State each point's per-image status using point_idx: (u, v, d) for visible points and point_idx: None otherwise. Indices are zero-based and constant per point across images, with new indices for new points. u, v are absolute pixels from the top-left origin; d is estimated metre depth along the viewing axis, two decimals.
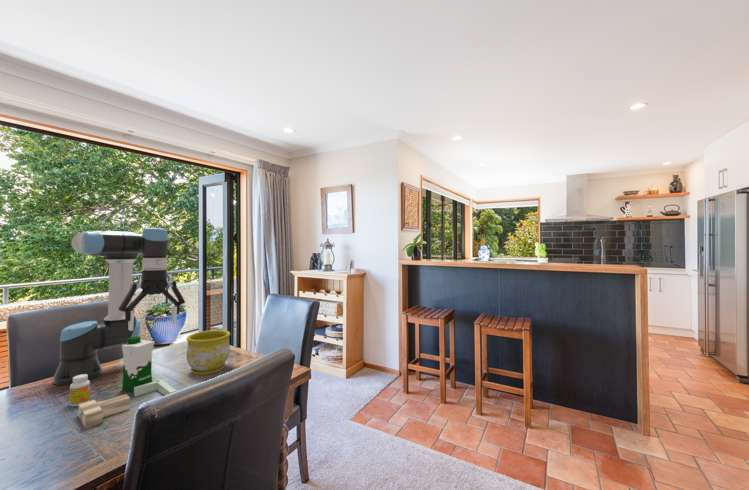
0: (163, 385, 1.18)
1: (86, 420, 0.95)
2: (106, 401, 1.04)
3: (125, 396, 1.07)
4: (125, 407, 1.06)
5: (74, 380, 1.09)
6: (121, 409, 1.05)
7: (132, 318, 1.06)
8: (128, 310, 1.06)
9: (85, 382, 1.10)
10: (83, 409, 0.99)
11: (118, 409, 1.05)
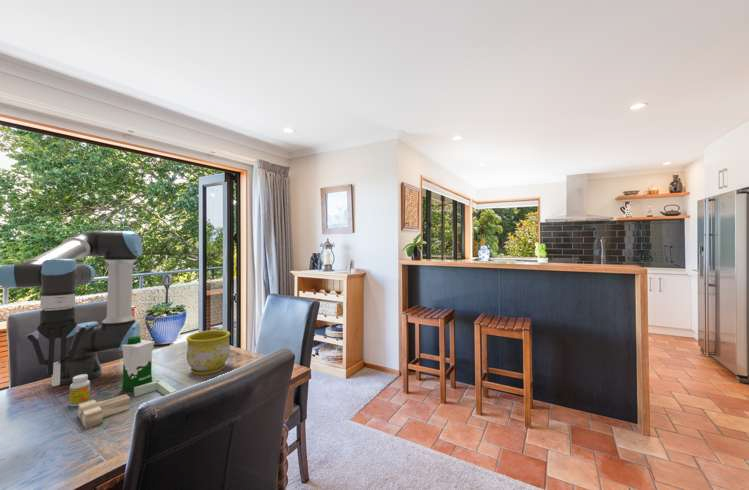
0: (163, 385, 1.18)
1: (86, 420, 0.95)
2: (106, 401, 1.04)
3: (125, 396, 1.07)
4: (125, 407, 1.06)
5: (74, 380, 1.09)
6: (121, 409, 1.05)
7: (55, 371, 0.93)
8: (50, 363, 0.92)
9: (85, 382, 1.10)
10: (83, 409, 0.99)
11: (118, 409, 1.05)
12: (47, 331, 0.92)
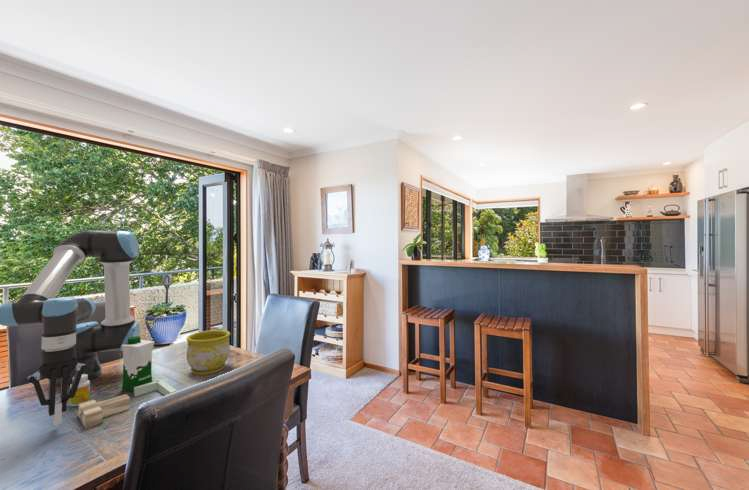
0: (163, 385, 1.18)
1: (86, 420, 0.95)
2: (106, 401, 1.04)
3: (125, 396, 1.07)
4: (125, 407, 1.06)
5: None
6: (121, 409, 1.05)
7: (56, 411, 0.93)
8: (51, 403, 0.92)
9: (85, 382, 1.10)
10: (83, 409, 0.99)
11: (118, 409, 1.05)
12: (48, 372, 0.92)
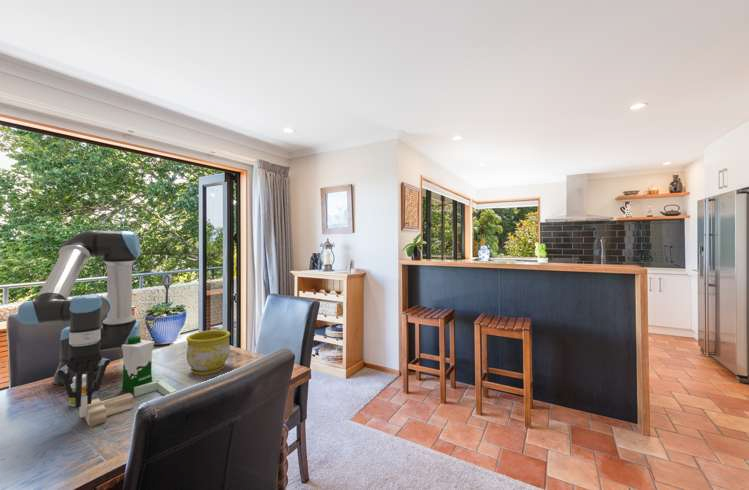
0: (163, 385, 1.18)
1: (90, 418, 0.96)
2: (110, 400, 1.05)
3: (129, 395, 1.08)
4: (129, 406, 1.07)
5: (74, 380, 1.09)
6: (125, 408, 1.06)
7: (82, 403, 0.98)
8: (78, 396, 0.97)
9: (85, 382, 1.10)
10: (87, 408, 1.00)
11: (122, 408, 1.05)
12: (75, 366, 0.97)
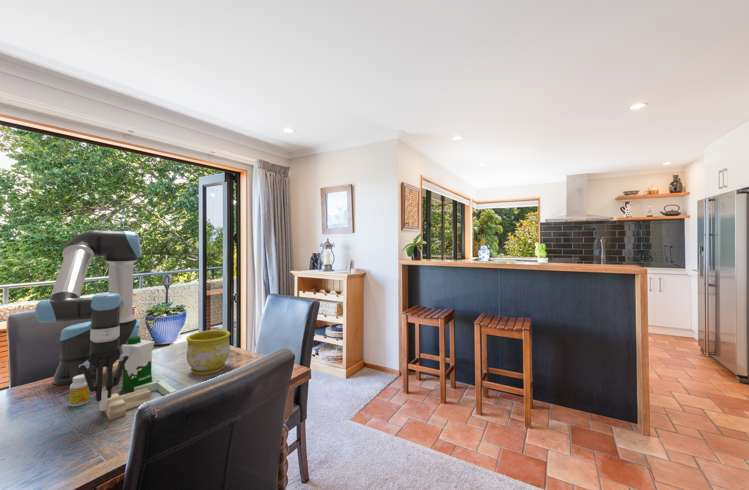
0: (163, 385, 1.18)
1: (111, 412, 1.00)
2: (128, 394, 1.09)
3: (146, 390, 1.12)
4: (146, 400, 1.11)
5: (74, 380, 1.09)
6: (142, 402, 1.10)
7: (103, 397, 1.02)
8: (99, 390, 1.01)
9: (85, 382, 1.10)
10: (107, 402, 1.03)
11: (139, 402, 1.09)
12: (96, 361, 1.01)
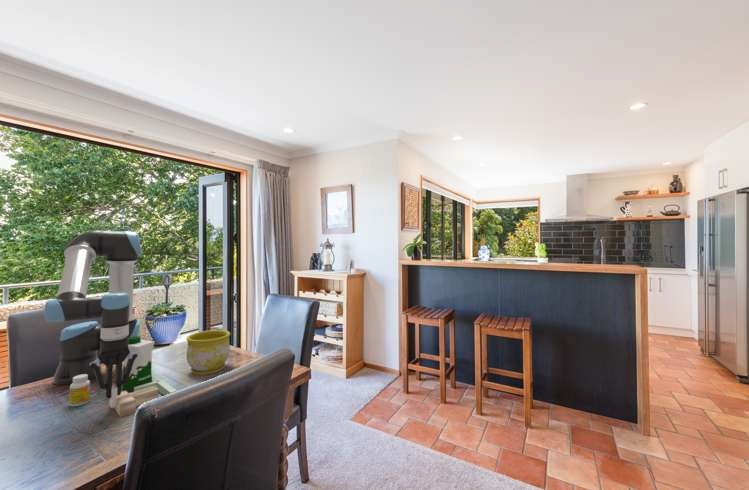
0: (163, 385, 1.18)
1: (121, 409, 1.02)
2: (137, 392, 1.11)
3: (154, 388, 1.14)
4: (154, 398, 1.13)
5: (74, 380, 1.09)
6: (151, 399, 1.12)
7: (113, 395, 1.04)
8: (109, 387, 1.03)
9: (85, 382, 1.10)
10: (117, 399, 1.05)
11: (148, 399, 1.11)
12: (106, 359, 1.03)
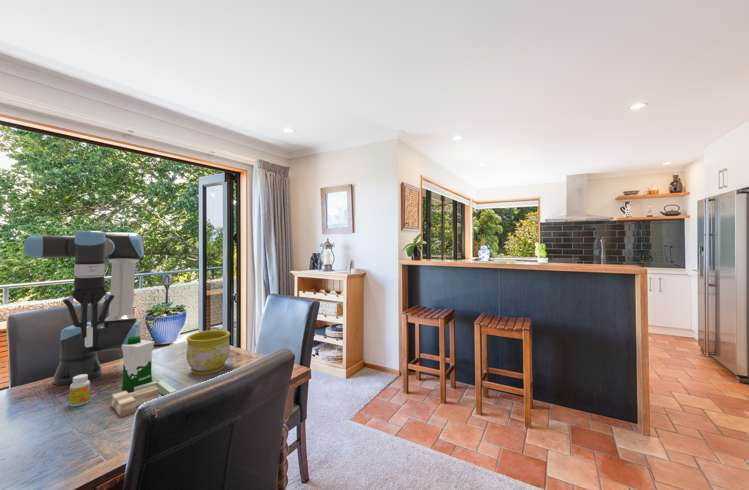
0: (163, 385, 1.18)
1: (121, 409, 1.02)
2: (137, 392, 1.11)
3: (154, 388, 1.14)
4: (154, 398, 1.13)
5: (74, 380, 1.09)
6: (151, 399, 1.12)
7: (88, 334, 1.01)
8: (83, 326, 1.00)
9: (85, 382, 1.11)
10: (117, 399, 1.06)
11: (148, 399, 1.11)
12: (81, 297, 1.00)
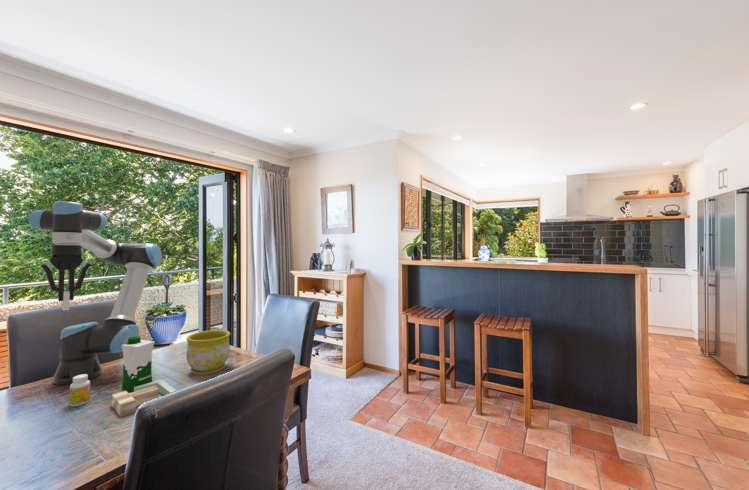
0: (163, 385, 1.18)
1: (121, 409, 1.02)
2: (137, 392, 1.11)
3: (154, 388, 1.14)
4: (154, 398, 1.13)
5: (74, 380, 1.09)
6: (151, 399, 1.12)
7: (65, 298, 1.08)
8: (60, 290, 1.07)
9: (85, 382, 1.11)
10: (117, 399, 1.06)
11: (148, 399, 1.11)
12: (58, 263, 1.07)
